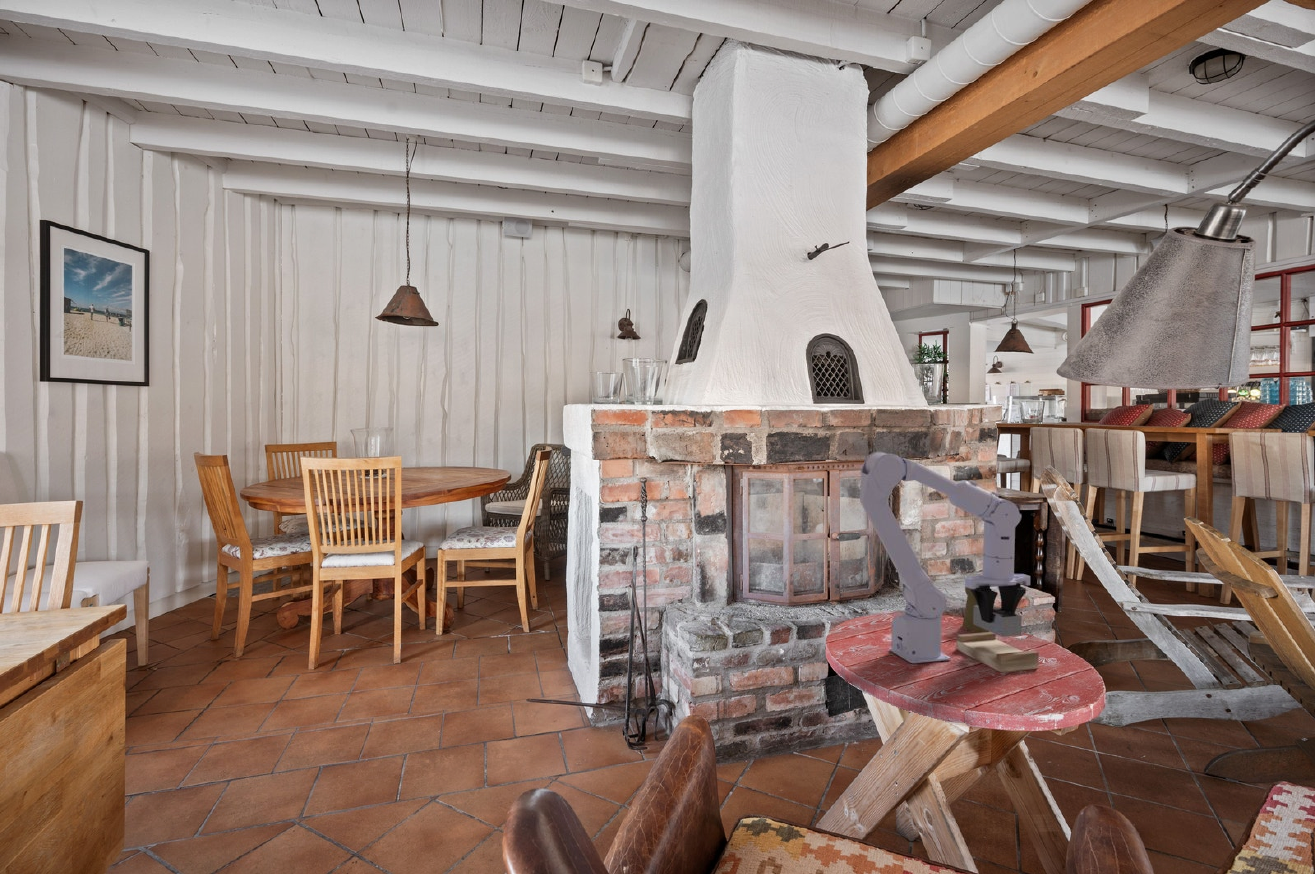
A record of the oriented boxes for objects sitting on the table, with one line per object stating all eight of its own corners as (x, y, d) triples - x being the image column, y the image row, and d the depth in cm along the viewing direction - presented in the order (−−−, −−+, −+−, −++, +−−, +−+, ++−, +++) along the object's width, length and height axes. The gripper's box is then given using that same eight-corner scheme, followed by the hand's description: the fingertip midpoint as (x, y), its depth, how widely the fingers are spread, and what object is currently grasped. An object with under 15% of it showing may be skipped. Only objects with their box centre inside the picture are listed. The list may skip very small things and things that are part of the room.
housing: (973, 624, 133) (973, 604, 133) (991, 622, 134) (991, 602, 134) (1002, 636, 125) (1002, 615, 125) (1021, 635, 126) (1021, 614, 126)
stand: (1038, 668, 125) (1038, 652, 125) (1000, 672, 123) (1001, 656, 123) (991, 646, 137) (991, 631, 137) (956, 649, 135) (956, 634, 135)
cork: (995, 632, 146) (996, 586, 145) (969, 632, 146) (970, 586, 145) (982, 624, 152) (983, 579, 151) (957, 623, 152) (958, 579, 151)
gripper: (983, 561, 123) (981, 629, 124) (1043, 558, 127) (1041, 624, 127) (958, 554, 130) (956, 618, 131) (1015, 551, 134) (1014, 613, 134)
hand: (996, 620), depth 129 cm, fingers closed on housing, 5 cm apart
